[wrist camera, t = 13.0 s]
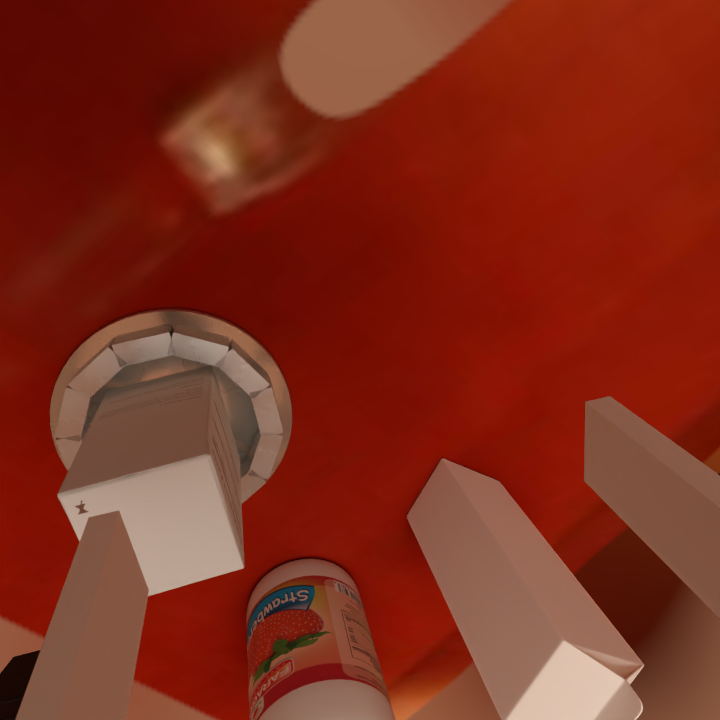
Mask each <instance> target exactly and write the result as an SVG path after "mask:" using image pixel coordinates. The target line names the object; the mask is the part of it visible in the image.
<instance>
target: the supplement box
mask: <svg viewBox="0 0 720 720" xmlns="http://www.w3.org/2000/svg"><path fill="white" fill-rule="evenodd" d="M57 496H58V498H59V500H60V502H61V504H62V506H63V508H64V510H65V512H66V514H67V516H68V518H69V520H70V522H71V524H72V526H73V528H74V531H75V533H76V535H77V537H78V539H79V541H80V540H81V537H82V534H83V532H84V529H85V526H86V523H87V521H88V518H89V517H92V516H97V515H101V514H105V513H110V512H114V511H118V510H119V511H120V514H121V517H122V519H123V522H124V525H125V527H126V530H127V533H128V535H129V538H130V541H131V544H132V546H133V549H134V552H135V554H136V557H137V560H138V562H139V565H140V568H141V570H142V573H143V576H144V578H145V581H146V584H147V586H148V589H149V593H148V596H150V595H154V594H157V593H161V592H164V591H167V590H171V589H174V588H178V587H181V586H184V585H188V584H191V583H195V582H198V581H201V580H205V579H208V578H212V577H215V576H219V575H222V574H226V573H229V572H232V571H236V570H239V569H243V568H244V548H243V526H242V508H241V476H240V454H239V450H238V448H237V444H236V441H235V438H234V435H233V432H232V429H231V425H230V422H229V419H228V416H227V412H226V409H225V406H224V403H223V399H222V396H221V393H220V390H219V387H218V383H217V380H216V377H215V374H214V371H213V368H212V366H211V365H209V366H205V367H201V368H196V369H192V370H188V371H184V372H180V373H176V374H172V375H168V376H164V377H160V378H156V379H152V380H148V381H144V382H140V383H136V384H132V385H128V386H124V387H120V388H116V389H112V390H107V391H106V393H105V395H104V398H103V400H102V402H101V404H100V406H99V408H98V410H97V412H96V414H95V416H94V419H93V421H92V423H91V425H90V427H89V429H88V431H87V433H86V435H85V437H84V439H83V442H82V444H81V446H80V448H79V450H78V452H77V454H76V456H75V458H74V461H73V463H72V465H71V467H70V469H69V471H68V473H67V475H66V477H65V479H64V482H63V484H62V486H61V488H60V490H59V492H58V495H57Z"/></svg>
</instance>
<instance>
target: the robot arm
mask: <svg viewBox="0 0 720 720" xmlns="http://www.w3.org/2000/svg"><path fill="white" fill-rule="evenodd" d="M584 481H585V482H586V483H587V484H588V485H589V486H590V487H591V488H592V489H593V490H594V491H595V492H596V493H597V494H598V495H599V496H600V497H601V498H602V499H603V500H604V501H605V503H606V504H607V505H608V506H609V507H610V508H611V509H612V510H613V511H614V512H615V513H616V514H617V515H618V516H619V517H620V518H621V519H622V520H623V521H624V522H625V523H626V524H627V525H628V526H629V527H630V528H631V529H632V530H633V531H634V532H635V533H636V534H637V535H638V536H639V537H640V538H641V539H642V540H643V541H644V542H645V543H646V544H647V545H648V546H649V547H650V548H651V549H652V550H653V551H654V552H655V553H656V554H657V555H658V556H659V557H660V558H661V559H662V560H663V561H664V562H665V563H666V564H667V565H668V566H669V567H670V568H671V569H672V570H673V571H674V572H675V574H676V575H678V576H679V578H680V579H681V580H682V581H683V582H684V583H685V584H686V585H687V586H688V587H689V588H690V589H691V590H692V591H693V592H694V593H695V594H696V595H697V596H698V597H699V598H700V599H701V600H702V601H703V602H704V603H705V604H706V605H707V606H708V607H709V608H710V609H711V610H712V611H713V612H714V613H715V614H716V615H717V616H718V617H719V618H720V474H717V473H715V472H714V471H712V470H711V469H710V468H709V467H707V466H706V465H704V464H703V463H702V462H700V461H699V460H697V459H696V458H695V457H693V456H692V455H691V454H689V453H688V452H686V451H685V450H684V449H682V448H681V447H679V446H678V445H677V444H675V443H674V442H673V441H671V440H670V439H668V438H667V437H666V436H664V435H663V434H661V433H660V432H659V431H657V430H656V429H655V428H653V427H652V426H650V425H649V424H648V423H646V422H645V421H643V420H642V419H641V418H639V417H638V416H637V415H635V414H634V413H632V412H631V411H630V410H628V409H627V408H625V407H624V406H623V405H621V404H620V403H618V402H617V401H616V400H614V399H613V398H612V397H610V396H609V397H604V398H600V399H596V400H591V401H587V402H585V464H584ZM148 593H149V589H148V586H147V584H146V581H145V578H144V576H143V573H142V570H141V568H140V565H139V562H138V560H137V557H136V554H135V552H134V549H133V546H132V544H131V541H130V538H129V535H128V533H127V530H126V527H125V525H124V522H123V519H122V517H121V514H120V511H119V510H118V511H114V512H110V513H105V514H101V515H97V516H92V517H89V518H88V521H87V523H86V526H85V529H84V532H83V534H82V537H81V540H80V543H79V545H78V548H77V551H76V554H75V556H74V559H73V562H72V565H71V567H70V570H69V573H68V576H67V578H66V581H65V584H64V587H63V590H62V592H61V595H60V598H59V601H58V603H57V606H56V609H55V612H54V614H53V617H52V620H51V623H50V625H49V628H48V631H47V634H46V636H45V639H44V642H43V645H42V648H41V650H39V651H35V652H31V653H27V654H23V655H20V656H16V657H13V658H12V660H11V661H10V662H9V663H8V665H7V666H6V667H5V668H4V670H3V671H2V672H1V673H0V720H126V717H127V712H128V706H129V701H130V700H129V699H130V695H131V689H132V684H133V678H134V672H135V667H136V661H137V655H138V650H139V644H140V638H141V633H142V627H143V621H144V616H145V610H146V604H147V599H148Z"/></svg>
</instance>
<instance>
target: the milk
mask: <svg viewBox="0 0 720 720" xmlns="http://www.w3.org/2000/svg"><path fill="white" fill-rule="evenodd" d="M407 519H408V521H409V524H410V526H411V528H412V530H413V532H414V534H415V536H416V539H417V541H418V543H419V545H420V547H421V549H422V551H423V554H424V556H425V558H426V560H427V562H428V564H429V566H430V569H431V571H432V573H433V575H434V577H435V579H436V581H437V583H438V586H439V588H440V590H441V592H442V594H443V596H444V598H445V601H446V603H447V605H448V607H449V609H450V611H451V613H452V616H453V618H454V620H455V622H456V624H457V626H458V628H459V630H460V633H461V635H462V637H463V639H464V641H465V643H466V645H467V648H468V650H469V652H470V654H471V656H472V658H473V660H474V663H475V665H476V667H477V669H478V671H479V673H480V675H481V677H482V680H483V682H484V684H485V686H486V688H487V690H488V692H489V695H490V697H491V699H492V701H493V703H494V705H495V707H496V710H497V712H498V714H499V716H500V718H501V720H636V719H637V718H638V717H639V715H640V714H641V713H642V710H643V706H642V702H641V700H640V699H639V697H638V696H637V694H636V693H635V692H634V690H633V689H632V687H631V686H630V684H631V682H632V681H633V680H634V679H635V677H636V676H637V675H638V673H639V672H640V671H641V670H642V668H643V667H644V664H643V663H642V661H641V660H640V659H639V658H638V657H637V655H636V654H635V653H634V651H633V650H632V649H631V648H630V646H629V645H628V644H627V642H626V641H625V640H624V639H623V638H622V636H621V635H620V634H619V632H618V631H617V630H616V629H615V627H614V626H613V625H612V623H611V622H610V621H609V620H608V618H607V617H606V616H605V615H604V613H603V612H602V611H601V610H600V608H599V607H598V606H597V604H596V603H595V602H594V601H593V599H592V598H591V597H590V596H589V594H588V593H587V592H586V591H585V589H584V588H583V587H582V585H581V584H580V583H579V582H578V580H577V579H576V578H575V577H574V575H573V574H572V573H571V572H570V570H569V569H568V568H567V566H566V565H565V564H564V563H563V561H562V560H561V559H560V558H559V556H558V555H557V554H556V553H555V551H554V550H553V549H552V547H551V546H550V545H549V544H548V542H547V541H546V540H545V539H544V537H543V536H542V535H541V534H540V532H539V531H538V530H537V528H536V527H535V526H534V525H533V523H532V522H531V521H530V520H529V518H528V517H527V516H526V515H525V513H524V512H523V511H522V509H521V508H520V507H519V506H518V504H517V503H516V502H515V501H514V499H513V498H512V497H511V496H510V494H509V493H508V492H507V490H506V489H505V488H504V487H503V485H502V484H501V483H500V482H499V481H497V480H495V479H493V478H490V477H488V476H485V475H483V474H480V473H478V472H475V471H473V470H471V469H468V468H466V467H463V466H461V465H458V464H456V463H453V462H451V461H448V460H446V459H444V458H442V459H441V460H440V462H439V463H438V465H437V467H436V468H435V470H434V472H433V473H432V475H431V477H430V478H429V480H428V481H427V483H426V485H425V486H424V488H423V490H422V491H421V493H420V495H419V496H418V498H417V500H416V501H415V503H414V504H413V506H412V508H411V509H410V511H409V513H408V514H407Z"/></svg>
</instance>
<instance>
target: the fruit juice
mask: <svg viewBox="0 0 720 720" xmlns="http://www.w3.org/2000/svg"><path fill="white" fill-rule="evenodd" d="M246 623H247V654H248V684H249V712H250V720H395V716H394V713H393V710H392V707H391V703H390V700H389V697H388V693H387V690H386V686H385V682H384V679H383V675H382V672H381V668H380V665H379V661H378V658H377V654H376V651H375V647H374V644H373V640H372V637H371V633H370V630H369V626H368V622H367V619H366V615H365V612H364V608H363V605H362V601H361V598H360V594H359V591H358V589H357V587H356V585H355V583H354V581H353V580H352V578H351V577H350V576H349V575H348V573H347V572H346V571H345V570H343V569H342V568H341V567H339V566H337V565H336V564H334V563H331V562H329V561H325V560H320V559H300V560H295V561H291V562H288V563H285V564H283V565H281V566H279V567H277V568H275V569H273V570H272V571H270V572H269V573H268V574H266V575H265V576H264V577H263V578H262V579H261V580H260V582H259V583H258V584H257V585H256V587H255V588H254V590H253V592H252V594H251V597H250V599H249V603H248V608H247V616H246Z"/></svg>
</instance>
